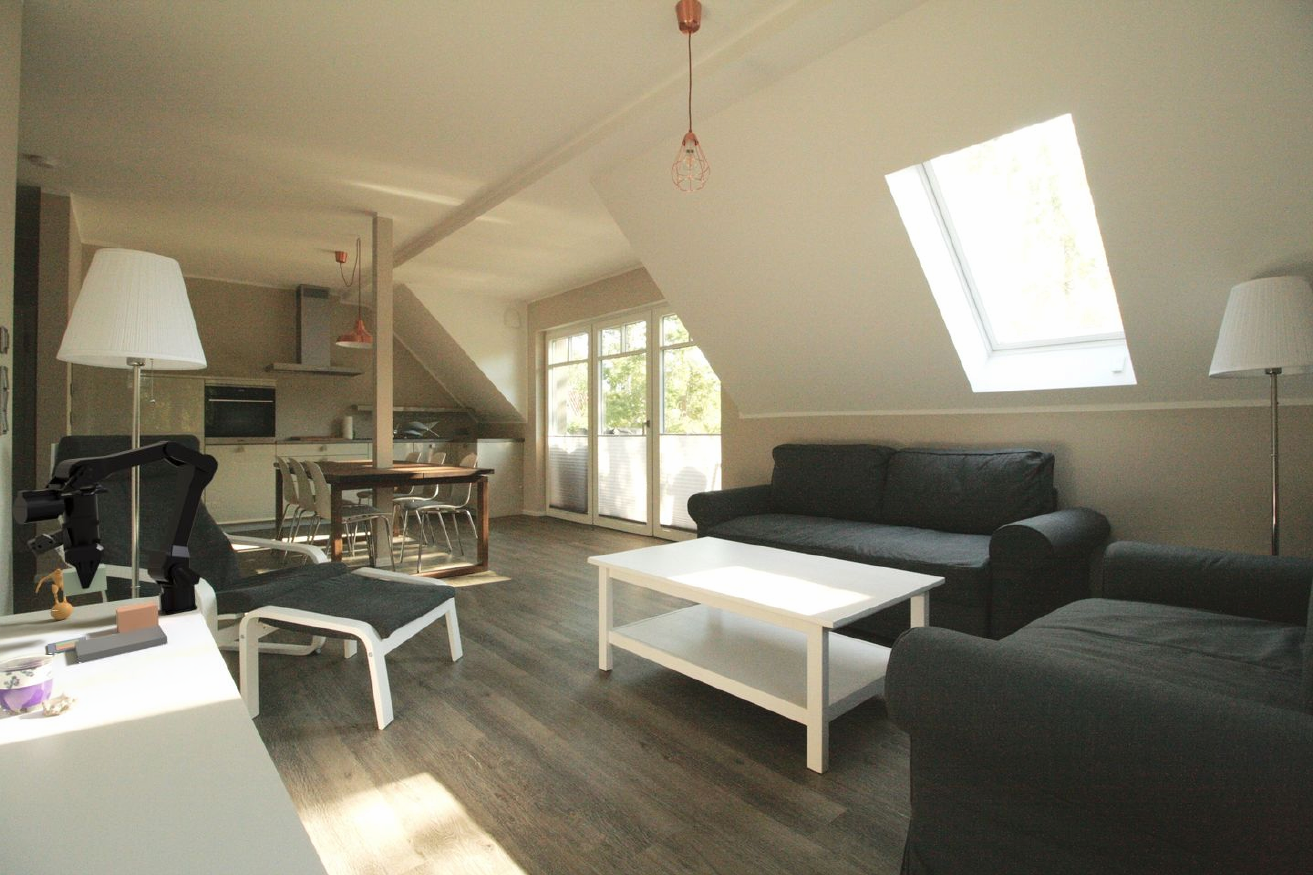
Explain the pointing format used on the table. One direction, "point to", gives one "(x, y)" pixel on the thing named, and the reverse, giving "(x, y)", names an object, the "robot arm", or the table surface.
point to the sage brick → (74, 586)
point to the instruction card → (63, 645)
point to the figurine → (64, 607)
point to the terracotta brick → (137, 616)
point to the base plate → (119, 643)
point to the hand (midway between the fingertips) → (85, 586)
